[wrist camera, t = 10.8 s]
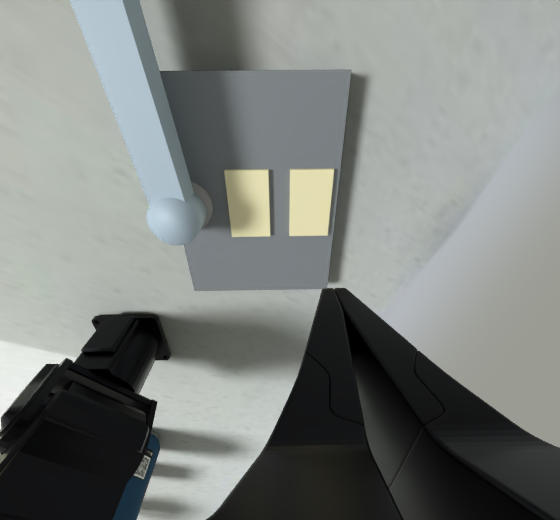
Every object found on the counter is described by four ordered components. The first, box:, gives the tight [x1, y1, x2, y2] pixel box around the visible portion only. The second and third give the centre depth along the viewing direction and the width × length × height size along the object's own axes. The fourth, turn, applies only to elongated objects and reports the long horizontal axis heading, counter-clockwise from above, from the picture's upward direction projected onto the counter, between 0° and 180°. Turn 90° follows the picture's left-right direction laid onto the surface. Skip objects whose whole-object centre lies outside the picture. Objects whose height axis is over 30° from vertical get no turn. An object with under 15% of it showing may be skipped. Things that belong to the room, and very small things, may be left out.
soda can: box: [112, 431, 160, 520], centre depth 34 cm, size 7×7×12 cm
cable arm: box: [70, 0, 207, 245], centre depth 14 cm, size 16×3×2 cm, turn 6°
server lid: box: [159, 70, 351, 291], centre depth 19 cm, size 16×13×2 cm
